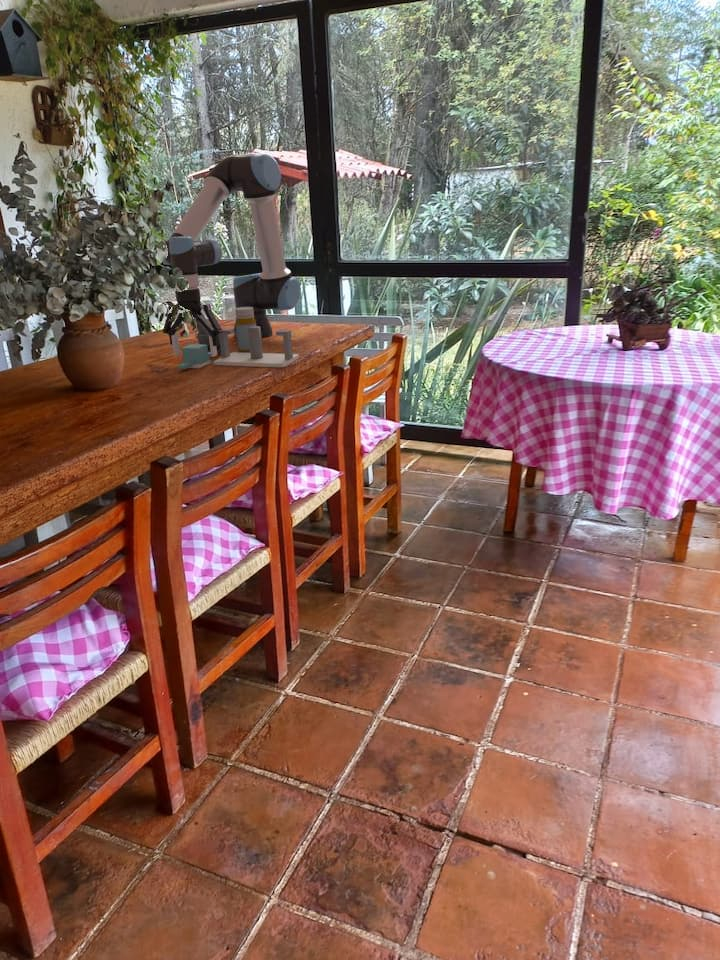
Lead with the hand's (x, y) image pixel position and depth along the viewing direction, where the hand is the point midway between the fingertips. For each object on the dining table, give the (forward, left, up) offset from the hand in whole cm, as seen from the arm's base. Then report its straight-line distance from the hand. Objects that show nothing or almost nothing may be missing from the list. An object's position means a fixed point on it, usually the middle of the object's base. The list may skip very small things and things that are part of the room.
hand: (195, 355), depth 227 cm
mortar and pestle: (-20, -5, -3) cm, 20 cm away
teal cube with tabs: (0, 0, -2) cm, 2 cm away
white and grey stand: (-8, +18, -3) cm, 20 cm away
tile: (0, 0, -3) cm, 3 cm away
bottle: (-22, +8, -3) cm, 24 cm away
